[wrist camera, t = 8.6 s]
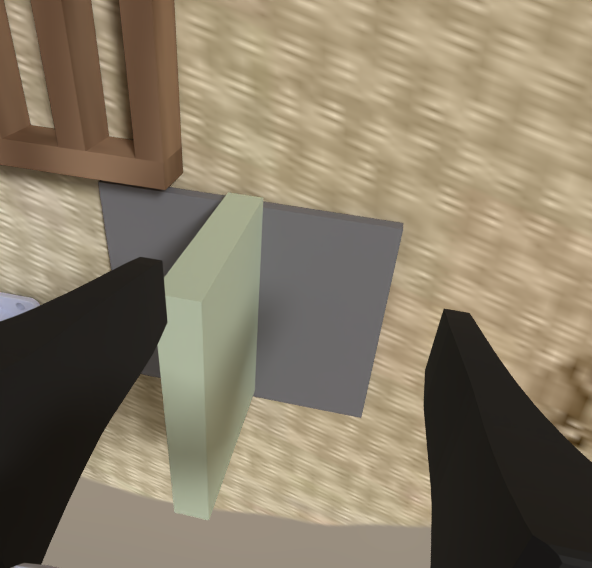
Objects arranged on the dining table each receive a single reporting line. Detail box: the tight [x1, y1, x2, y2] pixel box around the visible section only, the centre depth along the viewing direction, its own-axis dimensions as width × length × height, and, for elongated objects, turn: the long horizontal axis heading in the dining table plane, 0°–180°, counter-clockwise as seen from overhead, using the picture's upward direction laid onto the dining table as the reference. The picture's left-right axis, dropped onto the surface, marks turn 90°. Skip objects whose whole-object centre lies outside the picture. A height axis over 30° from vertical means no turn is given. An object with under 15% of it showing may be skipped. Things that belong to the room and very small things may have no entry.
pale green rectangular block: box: [158, 192, 263, 520], centre depth 22 cm, size 2×12×8 cm, turn 175°
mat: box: [98, 180, 403, 418], centre depth 26 cm, size 14×12×1 cm
